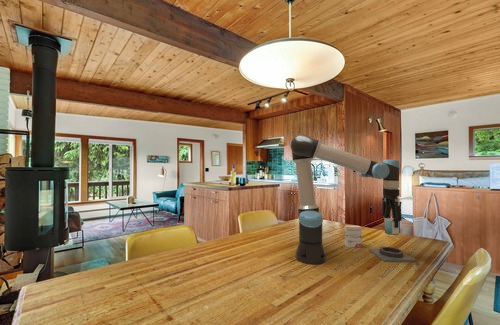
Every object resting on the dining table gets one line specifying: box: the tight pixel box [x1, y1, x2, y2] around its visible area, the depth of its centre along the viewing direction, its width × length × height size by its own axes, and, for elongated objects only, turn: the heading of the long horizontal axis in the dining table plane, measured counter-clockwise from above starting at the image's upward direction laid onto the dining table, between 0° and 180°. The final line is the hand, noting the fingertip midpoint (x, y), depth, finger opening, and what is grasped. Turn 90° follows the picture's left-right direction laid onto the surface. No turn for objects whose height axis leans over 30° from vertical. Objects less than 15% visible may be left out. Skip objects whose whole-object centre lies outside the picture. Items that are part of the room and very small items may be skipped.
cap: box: [384, 218, 400, 236], centre depth 130 cm, size 6×6×7 cm
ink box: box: [343, 224, 363, 249], centre depth 145 cm, size 9×5×12 cm, turn 84°
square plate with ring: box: [368, 246, 417, 263], centre depth 130 cm, size 16×16×3 cm
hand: (391, 231), depth 130 cm, fingers closed on cap, 6 cm apart
